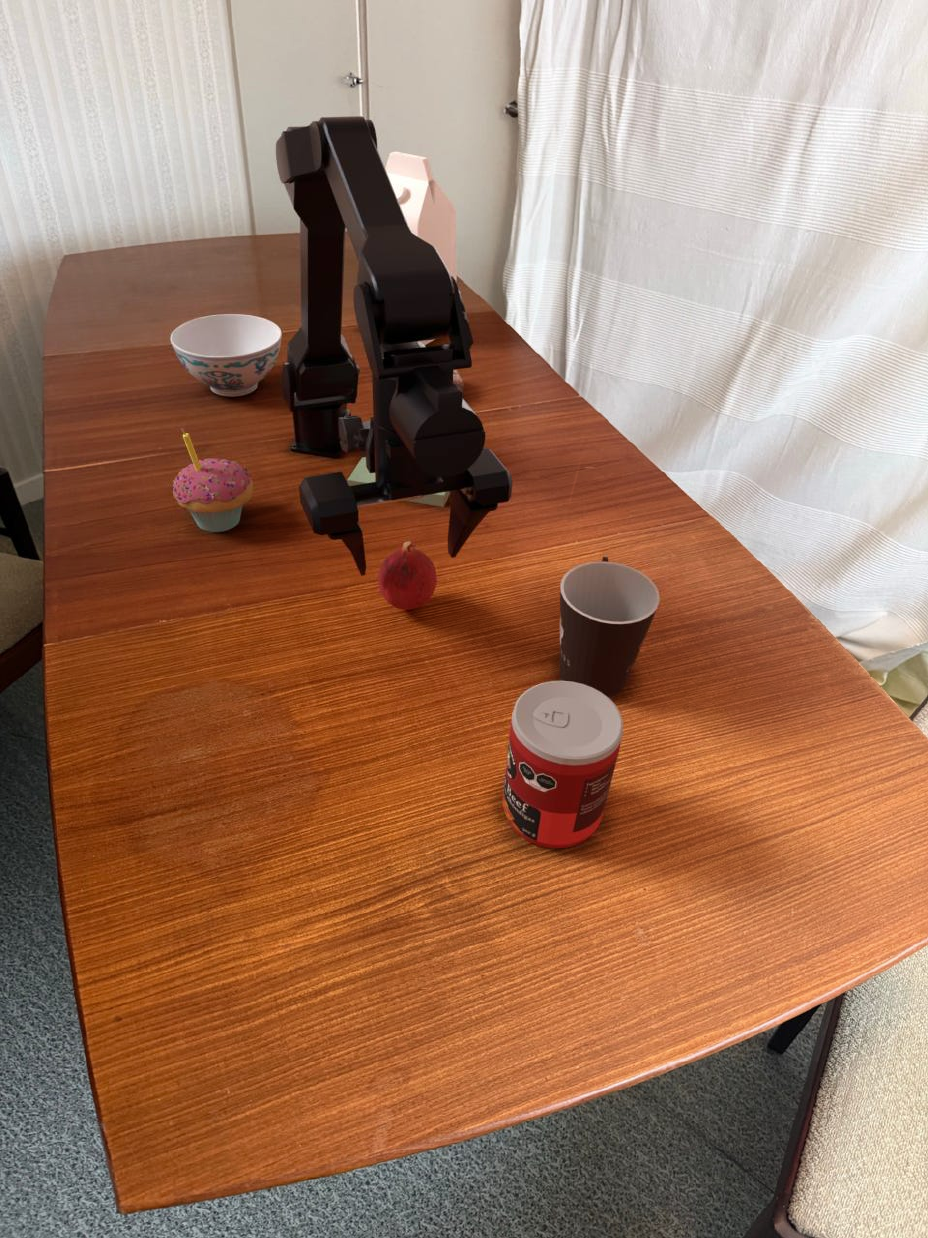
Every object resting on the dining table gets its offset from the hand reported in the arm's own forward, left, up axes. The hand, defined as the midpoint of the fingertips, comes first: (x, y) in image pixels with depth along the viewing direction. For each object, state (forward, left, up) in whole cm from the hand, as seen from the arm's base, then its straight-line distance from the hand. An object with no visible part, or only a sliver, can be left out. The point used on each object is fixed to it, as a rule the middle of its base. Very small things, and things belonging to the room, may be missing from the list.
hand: (407, 563), depth 81 cm
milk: (-20, +70, -6) cm, 73 cm away
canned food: (+18, -21, -6) cm, 28 cm away
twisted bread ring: (-11, +47, -6) cm, 49 cm away
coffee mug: (+20, -3, -6) cm, 21 cm away
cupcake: (-25, +9, -6) cm, 27 cm away
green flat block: (-7, +26, -6) cm, 28 cm away
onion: (0, 0, -6) cm, 6 cm away
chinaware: (-38, +41, -6) cm, 56 cm away
